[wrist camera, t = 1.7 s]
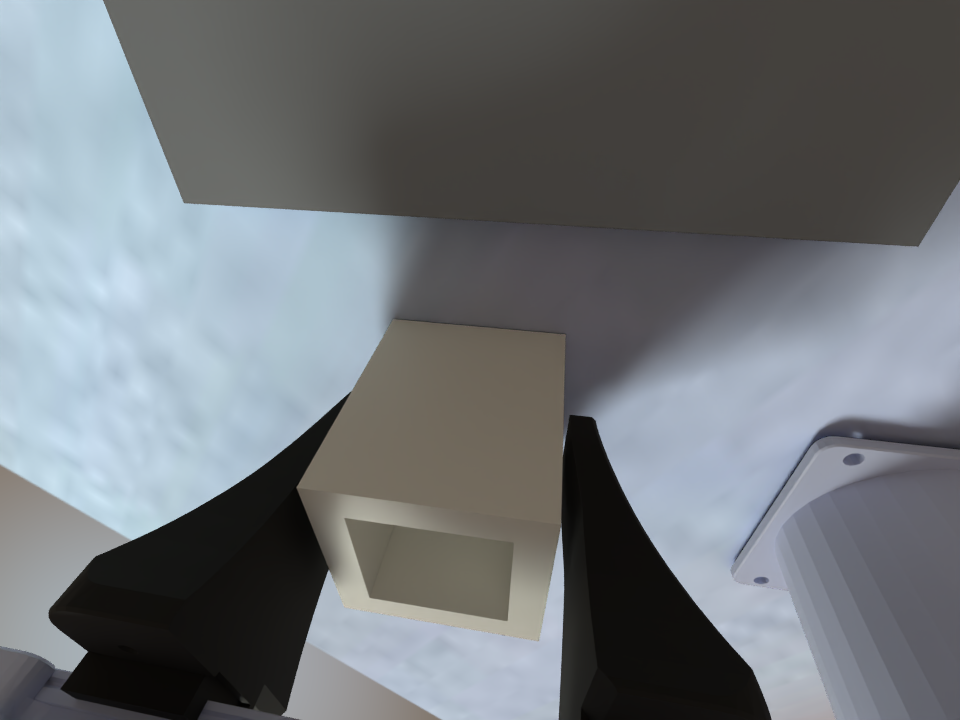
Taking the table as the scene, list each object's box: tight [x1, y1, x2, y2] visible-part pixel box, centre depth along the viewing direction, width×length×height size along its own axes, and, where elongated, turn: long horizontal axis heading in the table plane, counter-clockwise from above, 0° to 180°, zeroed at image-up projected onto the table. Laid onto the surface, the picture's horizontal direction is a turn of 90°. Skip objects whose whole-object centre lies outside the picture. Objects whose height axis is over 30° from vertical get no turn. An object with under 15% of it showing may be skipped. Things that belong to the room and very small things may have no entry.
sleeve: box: [297, 319, 566, 641], centre depth 12 cm, size 5×5×6 cm
